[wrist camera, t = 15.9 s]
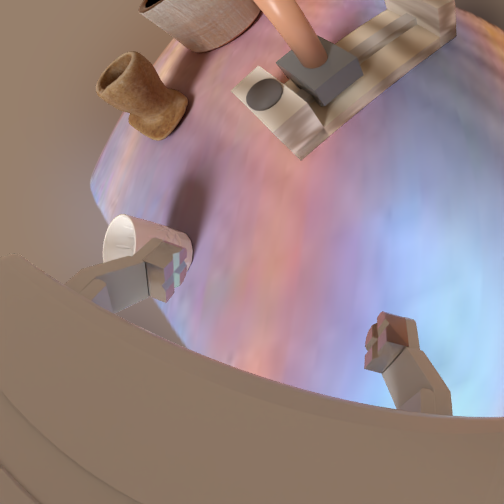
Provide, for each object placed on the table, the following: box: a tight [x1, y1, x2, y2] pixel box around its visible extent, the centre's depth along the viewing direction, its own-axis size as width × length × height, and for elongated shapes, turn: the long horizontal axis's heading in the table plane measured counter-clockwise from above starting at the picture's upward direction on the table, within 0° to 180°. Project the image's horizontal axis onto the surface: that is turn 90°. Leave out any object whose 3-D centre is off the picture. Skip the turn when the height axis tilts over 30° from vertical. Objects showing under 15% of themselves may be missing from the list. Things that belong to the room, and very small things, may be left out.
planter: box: [138, 0, 261, 52], centre depth 34 cm, size 18×18×16 cm
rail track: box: [231, 0, 456, 160], centre depth 23 cm, size 30×9×7 cm, turn 124°
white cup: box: [103, 214, 193, 271], centre depth 34 cm, size 8×8×10 cm
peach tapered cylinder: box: [253, 0, 363, 107], centre depth 20 cm, size 6×7×14 cm
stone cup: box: [96, 51, 188, 140], centre depth 38 cm, size 15×12×15 cm
